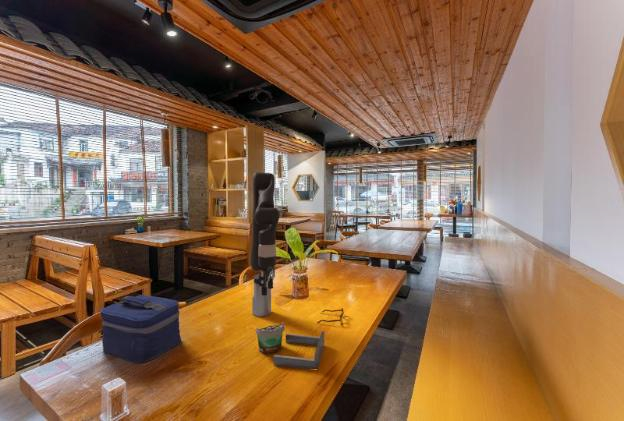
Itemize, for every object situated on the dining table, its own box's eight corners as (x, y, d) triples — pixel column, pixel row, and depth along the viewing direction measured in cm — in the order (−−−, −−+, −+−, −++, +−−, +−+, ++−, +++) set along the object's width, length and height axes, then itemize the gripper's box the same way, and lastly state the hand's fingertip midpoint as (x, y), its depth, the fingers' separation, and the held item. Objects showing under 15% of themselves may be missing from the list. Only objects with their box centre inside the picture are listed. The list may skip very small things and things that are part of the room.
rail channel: (273, 365, 104) (273, 349, 103) (286, 341, 121) (286, 327, 120) (317, 370, 101) (317, 354, 100) (324, 345, 118) (324, 331, 117)
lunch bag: (90, 350, 113) (88, 301, 112) (138, 327, 133) (137, 285, 131) (145, 367, 102) (143, 313, 101) (188, 339, 122) (188, 294, 121)
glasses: (342, 327, 135) (342, 317, 135) (315, 324, 138) (315, 315, 137) (344, 316, 148) (344, 306, 148) (320, 313, 150) (320, 304, 150)
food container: (259, 359, 107) (259, 334, 107) (255, 351, 113) (255, 327, 112) (289, 351, 113) (289, 327, 112) (283, 344, 118) (283, 321, 118)
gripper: (264, 251, 126) (264, 286, 127) (252, 257, 112) (253, 297, 113) (280, 251, 125) (280, 287, 126) (270, 258, 111) (271, 298, 111)
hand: (267, 291), depth 119 cm, fingers open, 8 cm apart
